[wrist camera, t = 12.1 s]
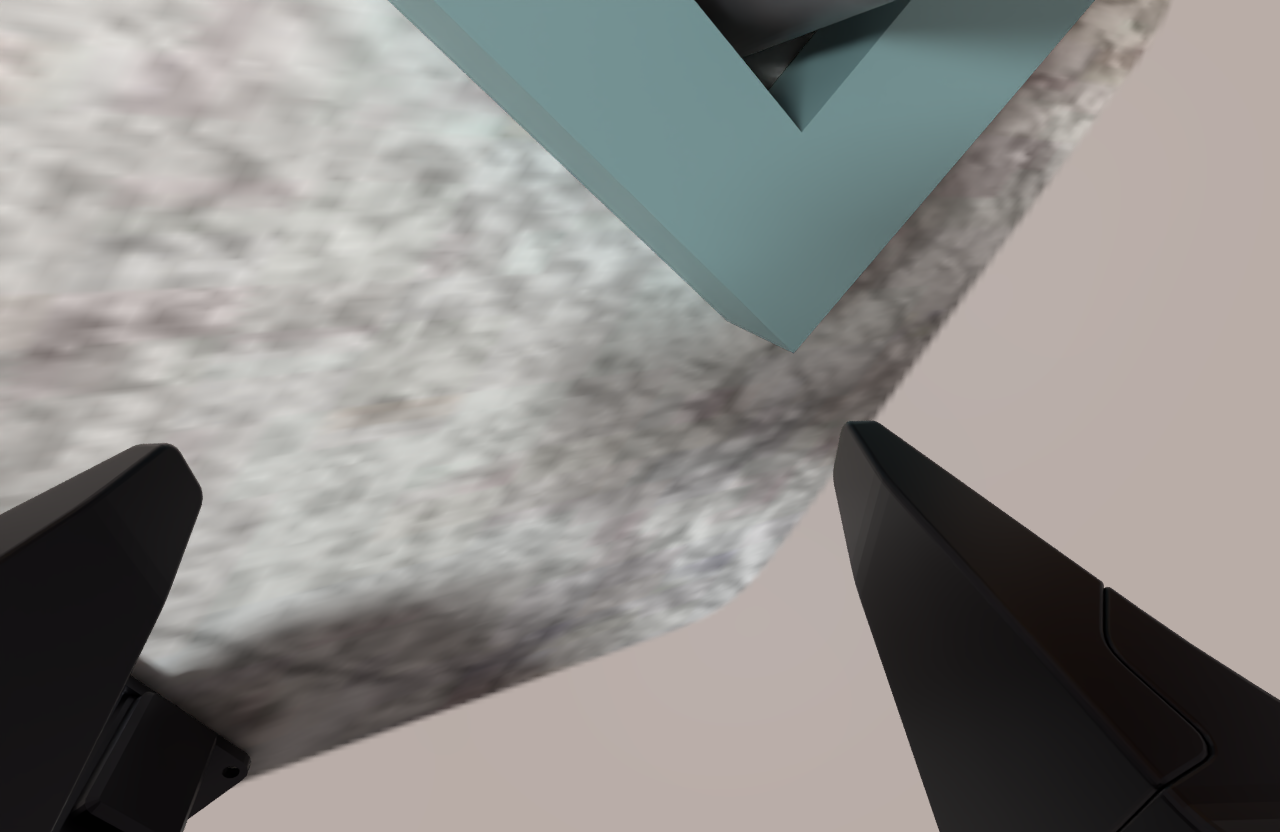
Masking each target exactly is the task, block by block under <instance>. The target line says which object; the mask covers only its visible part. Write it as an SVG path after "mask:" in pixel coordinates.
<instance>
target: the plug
mask: <svg viewBox="0 0 1280 832" xmlns="http://www.w3.org/2000/svg"><path fill="white" fill-rule="evenodd" d="M893 1H896V0H695V2H696V3H697V4H698V5H699V7H700V8H701V9H702V10H703V11H704V13H705V14H706V15H707V16H708V18H709V19H710V20H711V21H712V23H713V24H714V25H715V26H716V27H717V29H718V30H719V31H720V32H721V34H722V35H723V36H724V37H725V39H726V40H727V41H728V42H729V43H730V45H731V46H732V47H733V48H734V50H735V51H736V52H737V53H738V55H739V56H740V57H741V58H742V57H745V56H748V55H751V54H754V53H756V52H759V51H762V50H764V49H767V48H770V47H772V46H775V45H778V44H780V43H783V42H786V41H788V40H791V39H794V38H796V37H799V36H802V35H804V34H807V33H810V32H812V31H815V30H818V29H820V28H823V27H826V26H829V25H831V24H834V23H837V22H839V21H842V20H845V19H847V18H850V17H853V16H855V15H858V14H861V13H863V12H866V11H869V10H871V9H874V8H877V7H879V6H882V5H885V4H887V3H890V2H893Z"/></svg>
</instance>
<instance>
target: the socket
mask: <svg viewBox="0 0 1280 832" xmlns="http://www.w3.org/2000/svg"><path fill="white" fill-rule="evenodd" d="M388 1H389V2H390V3H392V4H393V5H394V6H395V7H396V8H397V9H398V10H399V11H400V12H401V13H402V14H403V15H404V16H405V17H406V18H407V19H408V20H410V21H411V22H412V23H413V24H414V25H415V26H416V27H417V28H418V29H419V30H420V31H421V32H422V33H423V34H424V35H425V36H426V37H427V38H429V39H430V40H431V41H432V42H433V43H434V44H435V45H436V46H437V47H438V48H439V49H440V50H441V51H442V52H443V53H444V54H445V55H447V56H448V57H449V58H450V59H451V60H452V61H453V62H454V63H455V64H456V65H457V66H458V67H459V68H460V69H461V70H462V71H463V72H464V73H466V74H467V75H468V76H469V77H470V78H471V79H472V80H473V81H474V82H475V83H476V84H477V85H478V86H479V87H480V88H481V89H482V90H484V91H485V92H486V93H487V94H488V95H489V96H490V97H491V98H492V99H493V100H494V101H495V102H496V103H497V104H498V105H499V106H500V107H501V108H503V109H504V110H505V111H506V112H507V113H508V114H509V115H510V116H511V117H512V118H513V119H514V120H515V121H516V122H517V123H518V124H519V125H521V126H522V127H523V128H524V129H525V130H526V131H527V132H528V133H529V134H530V135H531V136H532V137H533V138H534V139H535V140H536V141H537V142H539V143H540V144H541V145H542V146H543V147H544V148H545V149H546V150H547V151H548V152H549V153H550V154H551V155H552V156H553V157H554V158H555V159H556V160H558V161H559V162H560V163H561V164H562V165H563V166H564V167H565V168H566V169H567V170H568V171H569V172H570V173H571V174H572V175H573V176H574V177H576V178H577V179H578V180H579V181H580V182H581V183H582V184H583V185H584V186H585V187H586V188H587V189H588V190H589V191H590V192H591V193H592V194H593V195H595V196H596V197H597V198H598V199H599V200H600V201H601V202H602V203H603V204H604V205H605V206H606V207H607V208H608V209H609V210H610V211H611V212H613V213H614V214H615V215H616V216H617V217H618V218H619V219H620V220H621V221H622V222H623V223H624V224H625V225H626V226H627V227H628V228H629V229H630V230H632V231H633V232H634V233H635V234H636V235H637V236H638V237H639V238H640V239H641V240H642V241H643V242H644V243H645V244H646V245H647V246H648V247H650V248H651V249H652V250H653V251H654V252H655V253H656V254H657V255H658V256H659V257H660V258H661V259H662V260H663V261H664V262H665V263H666V264H668V265H669V266H670V267H671V268H672V269H673V270H674V271H675V272H676V273H677V274H678V275H679V276H680V277H681V278H682V279H683V280H684V281H685V282H687V283H688V284H689V285H690V286H691V287H692V288H693V289H694V290H695V291H696V292H697V293H698V294H699V295H700V296H701V297H702V298H703V299H705V300H706V301H707V302H708V303H709V304H710V305H711V306H712V307H713V308H714V309H715V310H716V311H717V312H718V313H719V314H720V315H721V316H722V317H724V318H725V319H726V320H727V321H728V322H730V323H732V324H734V325H736V326H739V327H741V328H743V329H745V330H747V331H749V332H751V333H753V334H755V335H757V336H759V337H761V338H763V339H765V340H767V341H769V342H772V343H774V344H776V345H778V346H780V347H782V348H784V349H786V350H788V351H790V352H792V353H794V352H795V351H796V350H797V349H798V348H799V347H800V345H801V344H802V343H803V342H804V341H805V339H806V338H807V337H808V336H809V335H810V334H811V332H812V331H813V330H814V329H815V328H816V327H817V325H818V324H819V323H820V322H821V321H822V320H823V318H824V317H825V316H826V315H827V314H828V313H829V311H830V310H831V309H832V308H833V307H834V305H835V304H836V303H837V302H838V301H839V300H840V298H841V297H842V296H843V295H844V294H845V293H846V291H847V290H848V289H849V288H850V287H851V286H852V284H853V283H854V282H855V281H856V280H857V279H858V277H859V276H860V275H861V274H862V273H863V271H864V270H865V269H866V268H867V267H868V266H869V264H870V263H871V262H872V261H873V260H874V259H875V257H876V256H877V255H878V254H879V253H880V252H881V250H882V249H883V248H884V247H885V246H886V245H887V243H888V242H889V241H890V240H891V239H892V237H893V236H894V235H895V234H896V233H897V232H898V230H899V229H900V228H901V227H902V226H903V225H904V223H905V222H906V221H907V220H908V219H909V218H910V216H911V215H912V214H913V213H914V212H915V210H916V209H917V208H918V207H919V206H920V205H921V203H922V202H923V201H924V200H925V199H926V198H927V196H928V195H929V194H930V193H931V192H932V191H933V189H934V188H935V187H936V186H937V185H938V184H939V182H940V181H941V180H942V179H943V178H944V176H945V175H946V174H947V173H948V172H949V171H950V169H951V168H952V167H953V166H954V165H955V164H956V162H957V161H958V160H959V159H960V158H961V157H962V155H963V154H964V153H965V152H966V151H967V150H968V148H969V147H970V146H971V145H972V144H973V142H974V141H975V140H976V139H977V138H978V137H979V135H980V134H981V133H982V132H983V131H984V130H985V128H986V127H987V126H988V125H989V124H990V123H991V121H992V120H993V119H994V118H995V117H996V116H997V114H998V113H999V112H1000V111H1001V110H1002V108H1003V107H1004V106H1005V105H1006V104H1007V103H1008V101H1009V100H1010V99H1011V98H1012V97H1013V96H1014V94H1015V93H1016V92H1017V91H1018V90H1019V89H1020V87H1021V86H1022V85H1023V84H1024V83H1025V82H1026V80H1027V79H1028V78H1029V77H1030V76H1031V74H1032V73H1033V72H1034V71H1035V70H1036V69H1037V67H1038V66H1039V65H1040V64H1041V63H1042V62H1043V60H1044V59H1045V58H1046V57H1047V56H1048V55H1049V53H1050V52H1051V51H1052V50H1053V49H1054V47H1055V46H1056V45H1057V44H1058V43H1059V42H1060V40H1061V39H1062V38H1063V37H1064V36H1065V35H1066V33H1067V32H1068V31H1069V30H1070V29H1071V28H1072V26H1073V25H1074V24H1075V23H1076V22H1077V21H1078V19H1079V18H1080V17H1081V16H1082V15H1083V13H1084V12H1085V11H1086V10H1087V9H1088V8H1089V6H1090V5H1091V4H1092V3H1093V2H1094V1H1095V0H896V1H893V2H890V3H887V4H885V5H882V6H879V7H877V8H874V9H871V10H869V11H866V12H863V13H861V14H858V15H855V16H853V17H850V18H847V19H845V20H842V21H839V22H837V23H834V24H831V25H829V26H826V27H823V28H820V29H818V30H817V32H816V33H815V34H814V35H813V37H812V38H811V39H810V40H809V41H808V43H807V44H806V45H805V46H804V48H803V49H802V50H801V51H800V52H799V54H798V55H797V56H796V57H795V59H794V60H793V61H792V62H791V63H790V65H789V66H788V67H787V68H786V70H785V71H784V72H783V73H782V74H781V76H780V77H779V78H778V79H777V81H776V82H775V83H774V84H773V85H772V87H771V88H770V89H769V90H767V89H766V88H765V87H764V85H763V84H762V83H761V82H760V80H759V79H758V78H757V77H756V75H755V74H754V73H753V72H752V71H751V69H750V68H749V67H748V66H747V64H746V63H745V62H744V61H743V59H742V58H741V57H740V56H739V55H738V53H737V52H736V51H735V50H734V48H733V47H732V46H731V45H730V43H729V42H728V41H727V40H726V39H725V37H724V36H723V35H722V34H721V32H720V31H719V30H718V29H717V27H716V26H715V25H714V24H713V23H712V21H711V20H710V19H709V18H708V16H707V15H706V14H705V13H704V11H703V10H702V9H701V8H700V7H699V5H698V4H697V3H696V2H695V0H388Z"/></svg>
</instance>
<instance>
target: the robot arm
mask: <svg viewBox="0 0 1280 832" xmlns="http://www.w3.org/2000/svg"><path fill="white" fill-rule="evenodd" d="M833 480H834V487H835V492H836V496H837V500H838V505H839V510H840V515H841V520H842V524H843V530H844V534H845V539H846V544H847V549H848V553H849V558H850V563H851V568H852V572H853V576H854V580H855V584H856V587H857V591H858V594H859V597H860V600H861V603H862V606H863V609H864V612H865V615H866V618H867V620H868V624H869V626H870V629H871V632H872V635H873V638H874V641H875V644H876V647H877V650H878V653H879V656H880V659H881V662H882V664H883V667H884V670H885V673H886V676H887V679H888V682H889V685H890V688H891V691H892V694H893V697H894V700H895V703H896V706H897V708H898V711H899V714H900V717H901V720H902V723H903V726H904V729H905V732H906V735H907V738H908V741H909V743H910V746H911V750H912V752H913V755H914V758H915V761H916V764H917V767H918V770H919V773H920V776H921V779H922V782H923V785H924V787H925V790H926V793H927V796H928V799H929V802H930V805H931V808H932V811H933V814H934V817H935V820H936V823H937V826H938V828H939V831H940V832H1280V700H1279V699H1277V698H1276V697H1274V696H1272V695H1271V694H1269V693H1268V692H1266V691H1264V690H1263V689H1261V688H1259V687H1258V686H1256V685H1255V684H1253V683H1252V682H1250V681H1248V680H1247V679H1245V678H1244V677H1242V676H1241V675H1239V674H1237V673H1236V672H1234V671H1233V670H1231V669H1230V668H1228V667H1226V666H1225V665H1223V664H1222V663H1220V662H1219V661H1217V660H1216V659H1214V658H1213V657H1211V656H1209V655H1208V654H1206V653H1205V652H1203V651H1202V650H1200V649H1199V648H1197V647H1195V646H1194V645H1192V644H1191V643H1189V642H1188V641H1186V640H1185V639H1184V638H1182V637H1181V636H1179V635H1178V634H1176V633H1175V632H1173V631H1172V630H1170V629H1169V628H1167V627H1166V626H1165V625H1163V624H1162V623H1160V622H1159V621H1157V620H1156V619H1154V618H1153V617H1151V616H1150V615H1148V614H1147V613H1146V612H1144V611H1143V610H1141V609H1140V608H1138V607H1137V606H1136V605H1134V604H1133V603H1131V602H1130V601H1129V600H1127V599H1126V598H1124V597H1123V596H1122V595H1120V594H1119V593H1117V592H1116V591H1114V590H1113V589H1112V588H1110V587H1106V588H1104V585H1103V582H1102V581H1100V580H1099V579H1097V578H1096V577H1095V576H1093V575H1092V574H1090V573H1089V572H1088V571H1086V570H1085V569H1083V568H1082V567H1081V566H1079V565H1078V564H1076V563H1075V562H1074V561H1072V560H1071V559H1069V558H1068V557H1066V556H1065V555H1064V554H1062V553H1061V552H1059V551H1058V550H1057V549H1055V548H1054V547H1052V546H1051V545H1050V544H1048V543H1047V542H1045V541H1044V540H1043V539H1041V538H1040V537H1038V536H1037V535H1036V534H1034V533H1033V532H1031V531H1030V530H1029V529H1027V528H1026V527H1024V526H1023V525H1021V524H1020V523H1019V522H1017V521H1016V520H1015V519H1013V518H1012V517H1010V516H1009V515H1008V514H1006V513H1005V512H1003V511H1002V510H1000V509H999V508H998V507H996V506H995V505H994V504H992V503H991V502H989V501H988V500H986V499H985V498H984V497H982V496H981V495H980V494H978V493H977V492H975V491H974V490H972V489H971V488H970V487H968V486H967V485H965V484H964V483H963V482H961V481H960V480H958V479H957V478H955V477H954V476H953V475H951V474H950V473H949V472H947V471H946V470H944V469H943V468H942V467H940V466H939V465H937V464H936V463H935V462H933V461H932V460H930V459H929V458H928V457H926V456H925V455H923V454H922V453H921V452H919V451H918V450H916V449H915V448H914V447H912V446H911V445H909V444H908V443H907V442H905V441H903V440H902V439H901V438H900V437H898V436H897V435H895V434H894V433H892V432H891V431H890V430H888V429H887V428H885V427H884V426H883V425H881V424H880V423H878V422H876V421H849V422H847V423H845V424H844V425H843V427H842V430H841V434H840V438H839V443H838V448H837V453H836V458H835V463H834V469H833ZM202 500H203V495H202V489H201V487H200V484H199V483H198V481H197V479H196V478H195V476H194V474H193V473H192V471H191V469H190V468H189V466H188V464H187V462H186V461H185V459H184V457H183V456H182V454H181V452H180V451H179V450H178V449H177V448H176V447H175V446H173V445H171V444H167V443H156V444H139V445H135V446H133V447H131V448H129V449H127V450H125V451H123V452H121V453H119V454H117V455H115V456H113V457H112V458H110V459H108V460H106V461H104V462H102V463H100V464H98V465H96V466H94V467H92V468H90V469H88V470H86V471H84V472H82V473H80V474H78V475H77V476H75V477H73V478H71V479H69V480H67V481H65V482H63V483H61V484H59V485H57V486H55V487H53V488H51V489H49V490H47V491H45V492H43V493H41V494H40V495H38V496H36V497H34V498H32V499H30V500H28V501H26V502H24V503H22V504H20V505H18V506H16V507H14V508H12V509H10V510H8V511H6V512H5V513H3V514H1V515H0V832H183V831H184V828H185V825H186V823H187V820H188V819H189V818H190V817H191V816H193V815H194V814H196V813H197V812H198V811H200V810H201V809H203V808H204V807H206V806H207V805H208V804H210V803H211V802H212V801H214V800H215V799H217V798H218V797H219V796H221V795H222V794H224V793H225V792H226V791H228V790H229V789H230V788H232V787H233V786H235V785H236V784H237V783H239V782H240V781H241V780H243V779H244V778H245V777H246V776H247V773H248V770H249V766H250V763H251V760H250V757H249V756H248V755H247V753H245V752H244V751H242V750H241V749H239V748H238V747H236V746H235V745H233V744H232V743H230V742H229V741H227V740H226V739H224V738H223V737H221V736H220V735H218V734H217V733H215V732H214V731H212V730H211V729H209V728H208V727H206V726H205V725H203V724H202V723H200V722H199V721H197V720H196V719H195V718H193V717H192V716H190V715H189V714H187V713H186V712H184V711H183V710H181V709H180V708H178V707H177V706H175V705H174V704H172V703H171V702H169V701H168V700H166V699H165V698H163V697H162V696H160V695H159V694H157V693H156V692H154V691H153V690H151V689H150V688H148V687H147V686H145V685H144V684H142V683H141V682H140V681H138V680H137V679H135V678H134V677H132V676H131V675H130V673H131V671H132V669H133V667H134V665H135V663H136V661H137V659H138V657H139V655H140V653H141V651H142V649H143V647H144V645H145V643H146V641H147V639H148V637H149V635H150V633H151V631H152V629H153V627H154V625H155V623H156V621H157V619H158V617H159V615H160V613H161V610H162V608H163V606H164V604H165V602H166V599H167V597H168V594H169V592H170V589H171V587H172V584H173V581H174V578H175V576H176V573H177V570H178V568H179V565H180V562H181V560H182V557H183V554H184V552H185V549H186V546H187V543H188V541H189V538H190V535H191V533H192V530H193V527H194V525H195V522H196V519H197V517H198V514H199V511H200V508H201V505H202ZM229 766H235V767H238V768H232V769H231V768H228V767H229Z"/></svg>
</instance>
